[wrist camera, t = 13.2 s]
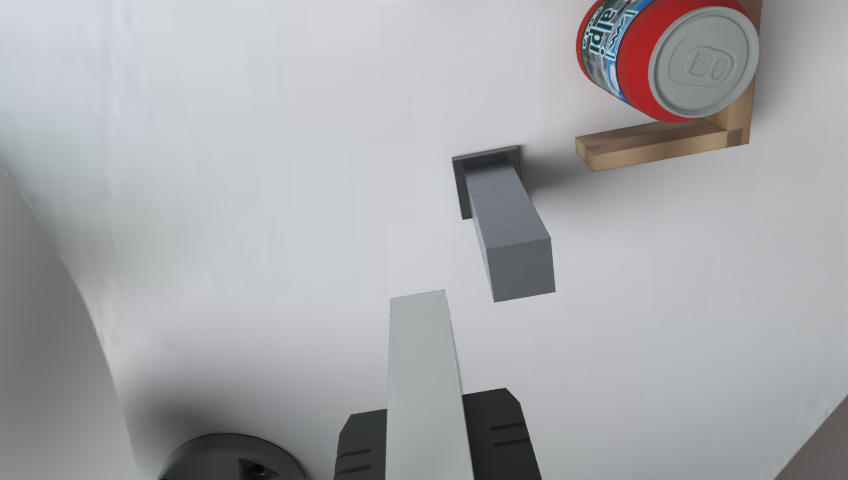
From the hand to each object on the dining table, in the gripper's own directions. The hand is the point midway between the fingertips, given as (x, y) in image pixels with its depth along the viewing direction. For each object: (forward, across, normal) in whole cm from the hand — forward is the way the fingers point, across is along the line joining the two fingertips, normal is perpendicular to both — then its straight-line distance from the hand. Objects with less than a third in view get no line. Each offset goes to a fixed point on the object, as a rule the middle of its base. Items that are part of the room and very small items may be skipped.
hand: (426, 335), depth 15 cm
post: (+27, +5, -6) cm, 28 cm away
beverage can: (+27, +16, +3) cm, 31 cm away
